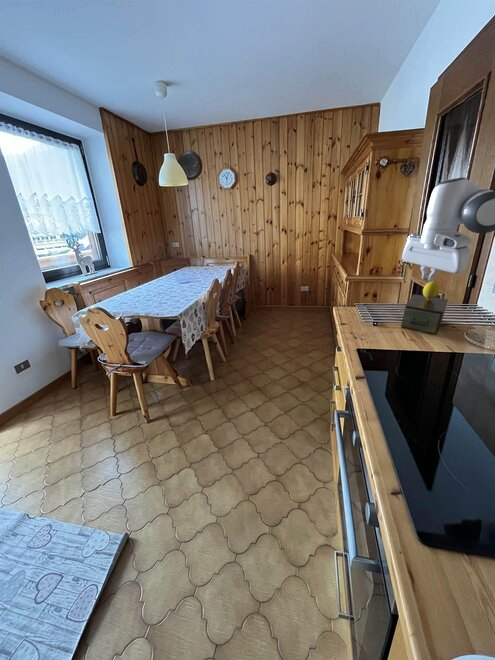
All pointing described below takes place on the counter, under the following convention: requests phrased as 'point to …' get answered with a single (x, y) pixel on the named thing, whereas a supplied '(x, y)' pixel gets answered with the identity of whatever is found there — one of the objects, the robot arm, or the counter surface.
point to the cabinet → (427, 307)
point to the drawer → (421, 320)
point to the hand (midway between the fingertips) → (427, 279)
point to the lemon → (431, 290)
